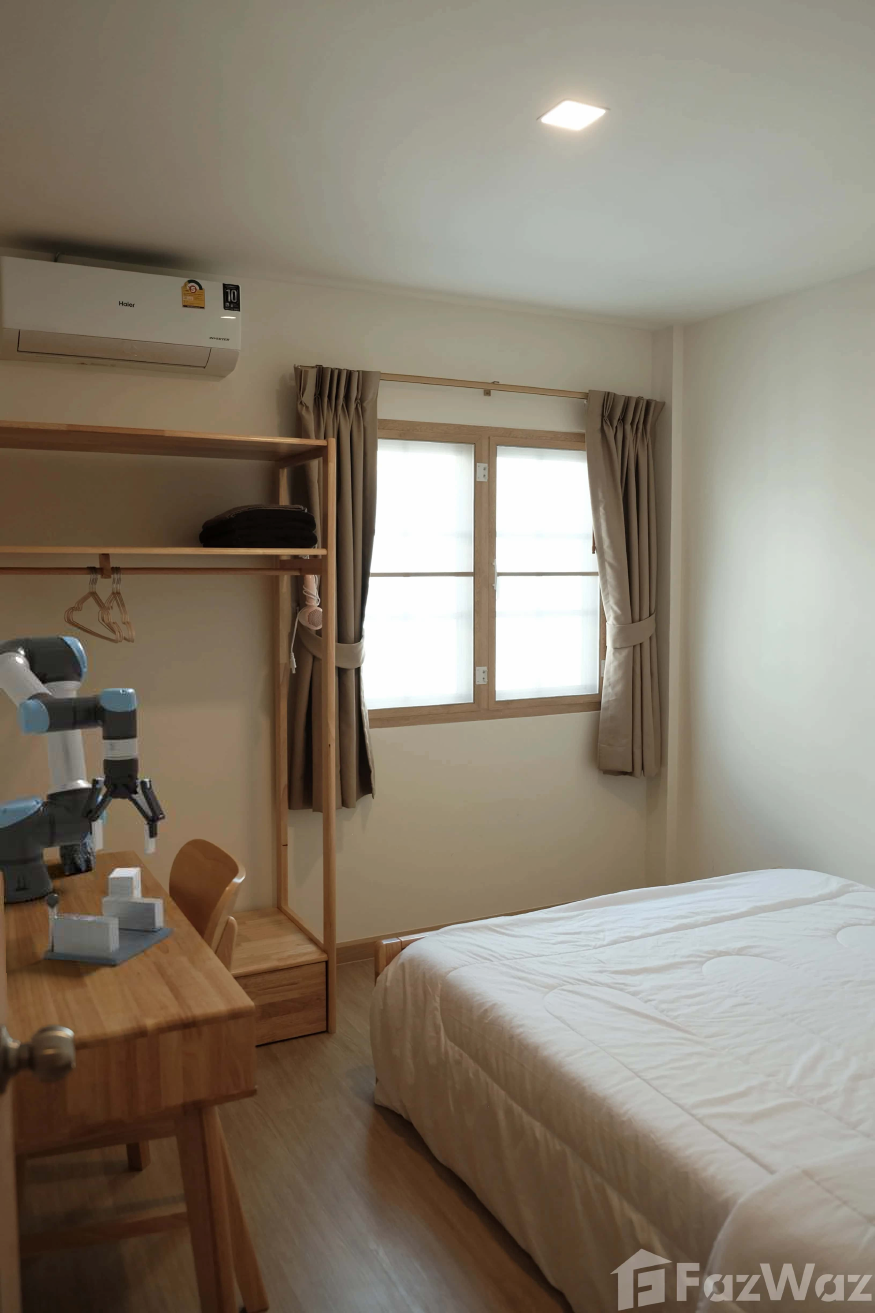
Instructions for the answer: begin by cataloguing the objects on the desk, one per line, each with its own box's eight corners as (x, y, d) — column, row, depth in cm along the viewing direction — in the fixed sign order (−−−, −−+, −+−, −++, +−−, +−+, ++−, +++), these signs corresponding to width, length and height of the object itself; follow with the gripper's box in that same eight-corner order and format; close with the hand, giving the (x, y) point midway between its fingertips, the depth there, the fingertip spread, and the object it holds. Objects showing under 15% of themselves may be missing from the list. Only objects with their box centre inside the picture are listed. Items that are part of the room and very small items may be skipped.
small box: (117, 913, 228) (115, 867, 228) (142, 912, 228) (140, 867, 228) (108, 924, 220) (107, 877, 220) (134, 923, 220) (133, 876, 220)
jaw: (111, 922, 217) (110, 895, 216) (163, 927, 213) (162, 899, 213) (102, 926, 214) (101, 899, 213) (155, 931, 210) (154, 903, 210)
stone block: (95, 873, 264) (92, 798, 263) (59, 876, 261) (56, 801, 260) (96, 857, 281) (94, 787, 280) (62, 860, 278) (60, 789, 278)
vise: (102, 927, 218) (100, 870, 217) (173, 933, 213) (171, 875, 212) (41, 957, 199) (39, 895, 198) (117, 965, 194) (115, 901, 193)
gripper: (62, 758, 223) (66, 852, 223) (159, 760, 215) (163, 857, 216) (83, 753, 230) (87, 844, 231) (178, 755, 223) (181, 849, 223)
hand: (123, 851), depth 223 cm, fingers open, 13 cm apart
